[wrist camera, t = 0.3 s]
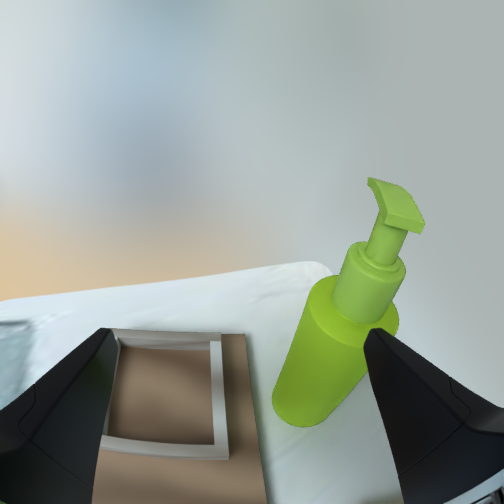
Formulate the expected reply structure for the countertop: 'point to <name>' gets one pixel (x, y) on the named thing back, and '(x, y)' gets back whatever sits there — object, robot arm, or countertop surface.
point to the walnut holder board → (179, 422)
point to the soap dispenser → (347, 315)
